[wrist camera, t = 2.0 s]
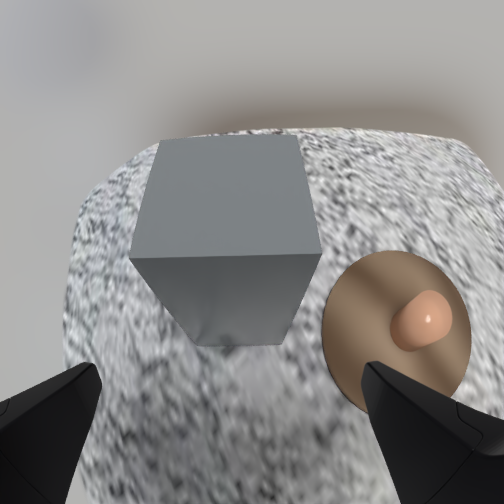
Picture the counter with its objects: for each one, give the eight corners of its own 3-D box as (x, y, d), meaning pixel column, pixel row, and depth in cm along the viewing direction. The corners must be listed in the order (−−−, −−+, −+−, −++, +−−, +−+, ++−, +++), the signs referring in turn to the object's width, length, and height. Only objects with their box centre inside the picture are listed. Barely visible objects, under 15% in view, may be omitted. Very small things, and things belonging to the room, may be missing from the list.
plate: (408, 454, 16) (412, 454, 15) (281, 333, 22) (281, 331, 21) (485, 323, 21) (489, 321, 21) (387, 226, 27) (389, 223, 27)
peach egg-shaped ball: (412, 360, 19) (438, 350, 16) (381, 331, 21) (403, 315, 18) (433, 327, 21) (458, 312, 17) (405, 299, 22) (427, 280, 19)
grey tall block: (281, 344, 21) (322, 253, 9) (197, 345, 21) (128, 258, 9) (275, 269, 25) (296, 134, 13) (200, 271, 24) (160, 140, 12)
